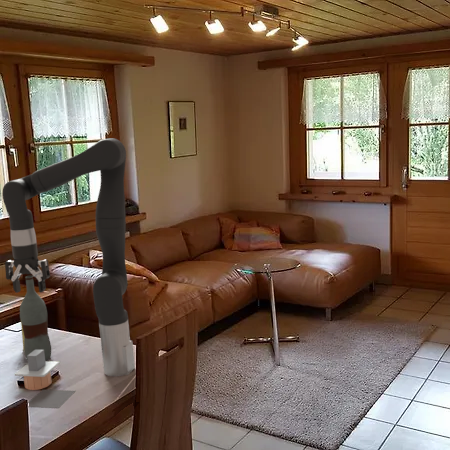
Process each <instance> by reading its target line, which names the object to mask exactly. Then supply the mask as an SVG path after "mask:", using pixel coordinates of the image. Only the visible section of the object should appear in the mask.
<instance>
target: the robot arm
mask: <svg viewBox="0 0 450 450" xmlns="http://www.w3.org/2000/svg"><path fill="white" fill-rule="evenodd" d="M126 159H127V151H126V147H125V146H124V144H123V142H122V141H121V140H119V139H117V138H103V139H100V140H99V141H97V142H96V143H94V144H93V145H92V146H90V147H88V148H87V149H85V150H83V151H82V152H80V153H78V154H77V155H74V156H72V157H70V158H66V159H65V160H62V161H59V162H56V163H52V164H50V165H48V166H45V167H43V168H41V169H37V170H36V171H34V172H32V174H29V175H26V176H23V177H21V178H18V179H13V180H10V181H7V182H6V183H5V184H4V185H3V187H2V194H1V196H2V200H3V203H4V206H5V209H6V212H7V214H8V218H9V221H8V222H9V228H10V243H11V250H12V251H11V252H12V258H13V260H12V259H9V260H6V261H5V262H4V266H5V267H4V268H5V279H6V280H10V281H11V282H12V287H13V291H14V293H20V292H21V281H20V279H19V278H20V277H21V275H31V276H33V278H36V280H37V284H38V293H44V292H45V291H46V289H47V286H46V280H47V279H49V278H50V277H51V273H50V266H49V260H48V259H47V258H46V259H43V260H39V258H38V255H39V254H38V253H39V251H38V243H37V235H36V231H35V228H34V227H35V226H34V217H33V213H32V211H31V210H30V209H28V207H27V201H28V200H30V199H31V198H34V197H36V196H38V195H40V194H43V193H46V192H49V191H52V190H54V189H57V188H58V187H59V188H60V187H61V186H64V185H66V184H68V183H70V182H71V181H74V180H75V179H77V178H79V177H82V176H84V175H87V174H90V173H95V172H100V186H99V187H100V188H99V190H98V191H99V192H98V196H97V201H96V207H95V233H96V236H97V240H98V243H99V247H100V249H101V253H102V267H101V268H102V270H101V271H102V272H101V275H100V276H99V277H98V278H96V279H95V281H94V283H93V287H92V288H93V289H92V291H93V292H92V293H93V294H92V295H93V303H94V309H95V313H96V314H95V315H96V317H97V318H98V327H99V335H100V344H101V346H100V347H101V354H102V355H101V356H102V357H101V358H102V365H103V367H102V368H103V373H104V374H105V376H108V377H121V376H128V375H130V374H131V373H132V372H133V370H134V369H135V368H136V367H135V355H134V354H135V353H134V344H133V340H131V337H130V325H129V315H128V311H127V310H126V309H125V308H124V300H123V295H124V294H125V293H126V291H127V289H128V284H129V283H128V275H127V273H128V272H127V265H126V254H125V253H126V228H127V227H126V223H127V222H126V201H125V200H126V198H125V195H126V194H125V169H126V161H127V160H126ZM14 267H15V268H16V269H15V271H14ZM40 268H41V269H40Z"/></svg>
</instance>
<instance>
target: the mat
mask: <svg viewBox="0 0 450 450" xmlns="http://www.w3.org/2000/svg"><path fill="white" fill-rule="evenodd" d="M75 393H76V390H65V389H64V390H62V389H42V390H40V392H38V393H37V394H36V395H35V396H34V397H33V398H32V399H31V400H30V401H28V402H27V403H29V407H28V408H45V409H60V408H61V407H62V405H64V404H65V402H67V401H68V400H69V398H71V397H72V396H73V394H75Z"/></svg>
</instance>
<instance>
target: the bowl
mask: <svg viewBox="0 0 450 450" xmlns="http://www.w3.org/2000/svg"><path fill="white" fill-rule="evenodd" d="M51 374H52V373H51V371H50V372H49V373H48V374H47V375H46V376H45V377H35V376H23V383H24V388H25V389H26V390H29V391H34V390H35V391H37V390H38V391H39V390H41V389H42V390H43V389H45V388H47V387H49V386H50V385H51V384H52V381H53V380H52V375H51Z"/></svg>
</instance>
